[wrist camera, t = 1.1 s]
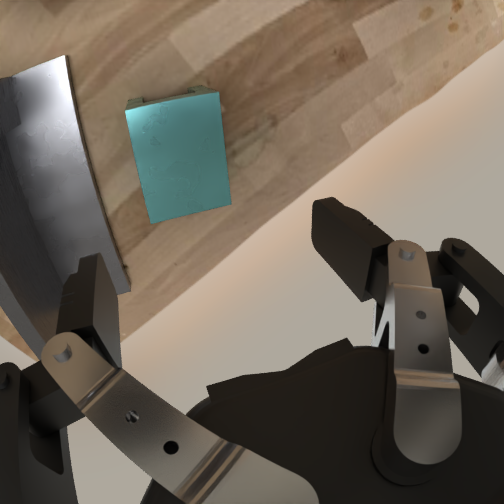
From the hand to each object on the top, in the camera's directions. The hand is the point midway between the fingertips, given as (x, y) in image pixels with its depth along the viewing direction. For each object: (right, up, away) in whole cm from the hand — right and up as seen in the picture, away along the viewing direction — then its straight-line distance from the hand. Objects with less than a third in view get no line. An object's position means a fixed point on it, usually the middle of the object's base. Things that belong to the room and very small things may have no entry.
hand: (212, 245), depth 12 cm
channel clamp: (-5, +9, +13) cm, 16 cm away
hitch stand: (-18, +4, +11) cm, 21 cm away
